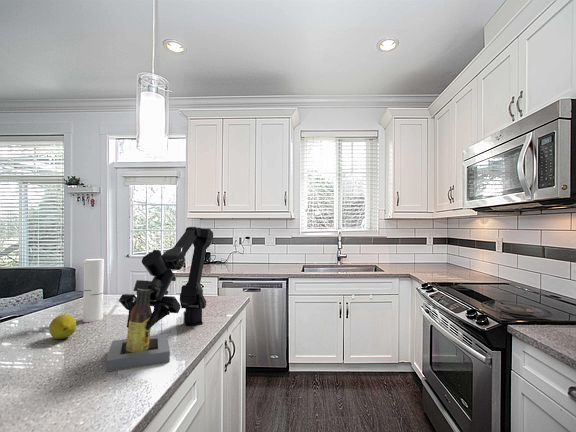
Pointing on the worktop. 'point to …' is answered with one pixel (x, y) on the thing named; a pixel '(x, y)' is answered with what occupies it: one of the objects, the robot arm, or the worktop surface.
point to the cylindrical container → (93, 290)
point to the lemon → (62, 326)
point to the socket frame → (138, 354)
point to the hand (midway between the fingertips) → (137, 328)
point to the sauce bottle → (139, 323)
